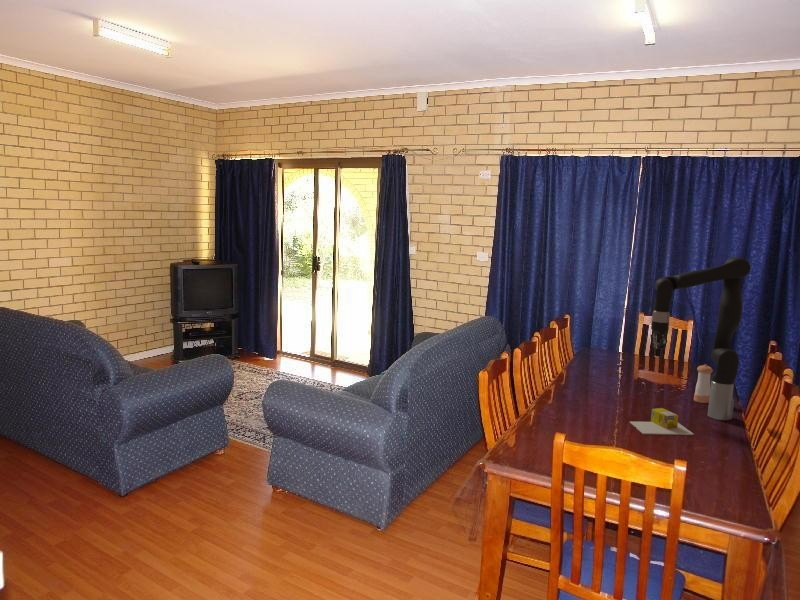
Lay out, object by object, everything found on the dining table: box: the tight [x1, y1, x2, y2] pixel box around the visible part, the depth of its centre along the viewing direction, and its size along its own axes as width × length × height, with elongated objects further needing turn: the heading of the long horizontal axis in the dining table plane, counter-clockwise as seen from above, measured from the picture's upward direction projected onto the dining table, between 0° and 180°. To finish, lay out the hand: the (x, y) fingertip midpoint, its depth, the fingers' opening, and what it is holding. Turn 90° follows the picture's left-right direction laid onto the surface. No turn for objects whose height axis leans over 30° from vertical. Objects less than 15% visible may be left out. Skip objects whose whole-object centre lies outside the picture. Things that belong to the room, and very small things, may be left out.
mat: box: [629, 421, 695, 436], centre depth 253 cm, size 22×14×1 cm, turn 91°
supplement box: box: [649, 407, 679, 429], centre depth 256 cm, size 6×6×11 cm
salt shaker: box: [693, 363, 714, 404], centre depth 292 cm, size 7×7×19 cm
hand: (657, 356), depth 273 cm, fingers closed
